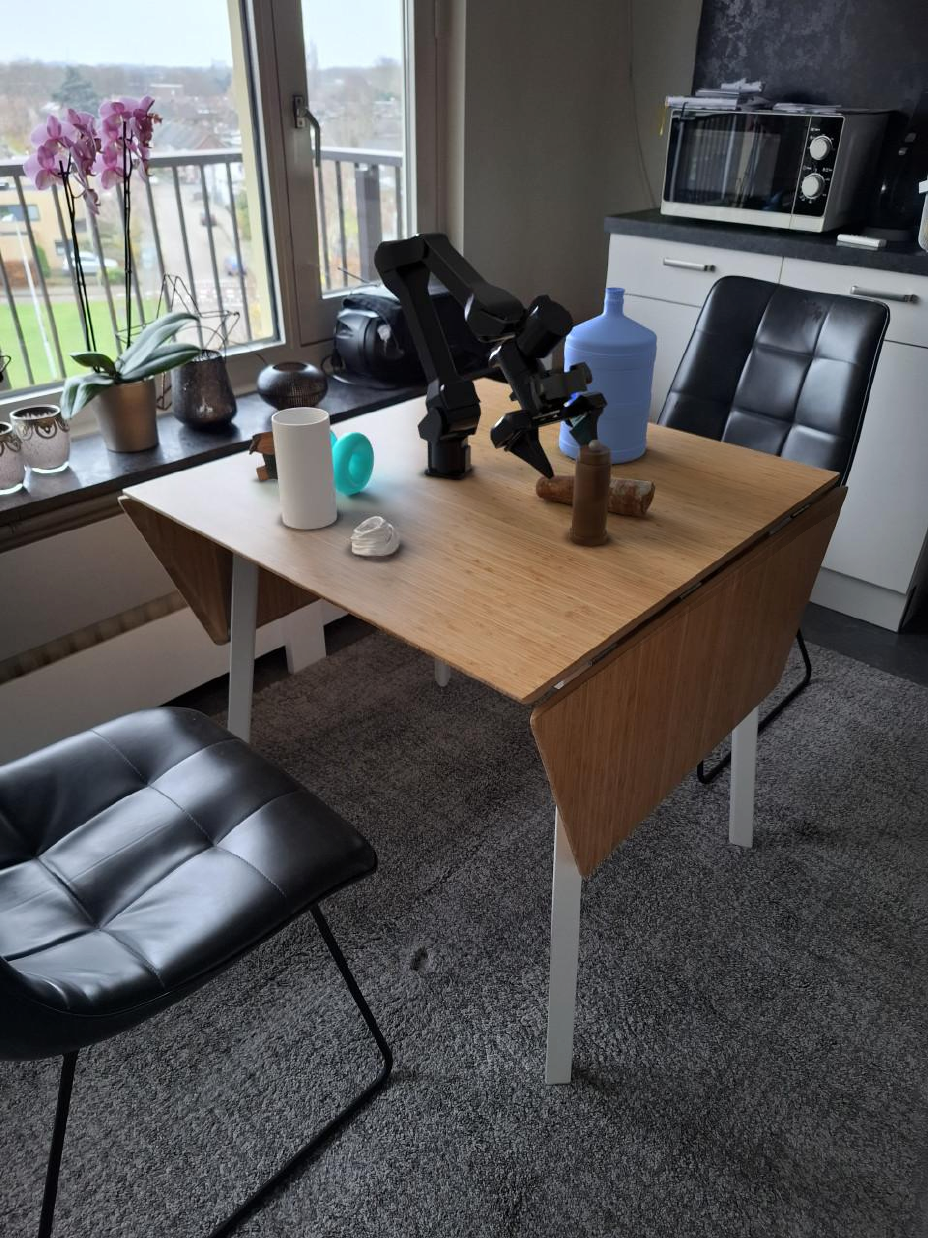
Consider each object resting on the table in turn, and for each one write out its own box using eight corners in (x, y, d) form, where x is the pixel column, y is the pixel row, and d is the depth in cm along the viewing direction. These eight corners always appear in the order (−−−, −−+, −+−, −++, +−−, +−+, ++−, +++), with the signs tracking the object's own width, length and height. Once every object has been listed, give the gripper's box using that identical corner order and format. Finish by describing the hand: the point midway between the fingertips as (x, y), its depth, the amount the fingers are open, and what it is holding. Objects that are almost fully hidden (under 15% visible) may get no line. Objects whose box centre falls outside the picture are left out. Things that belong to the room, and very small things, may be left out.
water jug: (658, 445, 163) (677, 286, 148) (623, 472, 151) (640, 302, 137) (581, 431, 170) (592, 277, 155) (543, 455, 158) (551, 291, 144)
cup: (346, 511, 137) (338, 410, 129) (321, 532, 130) (312, 427, 122) (298, 504, 139) (288, 404, 131) (272, 525, 132) (260, 421, 124)
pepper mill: (572, 546, 126) (579, 447, 119) (566, 530, 131) (573, 433, 123) (609, 545, 127) (619, 446, 119) (602, 529, 131) (611, 433, 124)
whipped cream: (389, 569, 122) (390, 539, 119) (342, 561, 123) (342, 531, 120) (403, 541, 128) (404, 511, 126) (358, 533, 129) (359, 504, 126)
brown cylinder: (646, 524, 133) (650, 490, 130) (529, 502, 140) (531, 468, 137) (658, 509, 138) (662, 476, 135) (545, 488, 145) (546, 456, 142)
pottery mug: (240, 483, 148) (235, 434, 148) (271, 489, 156) (266, 442, 156) (303, 472, 144) (298, 422, 143) (331, 479, 152) (326, 431, 152)
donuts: (343, 505, 139) (339, 444, 134) (293, 492, 143) (287, 433, 138) (379, 484, 146) (376, 425, 141) (330, 473, 151) (325, 416, 146)
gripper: (505, 354, 116) (558, 458, 115) (604, 334, 126) (654, 429, 125) (467, 399, 126) (516, 495, 124) (562, 377, 136) (608, 465, 134)
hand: (575, 470), depth 126 cm, fingers open, 9 cm apart
